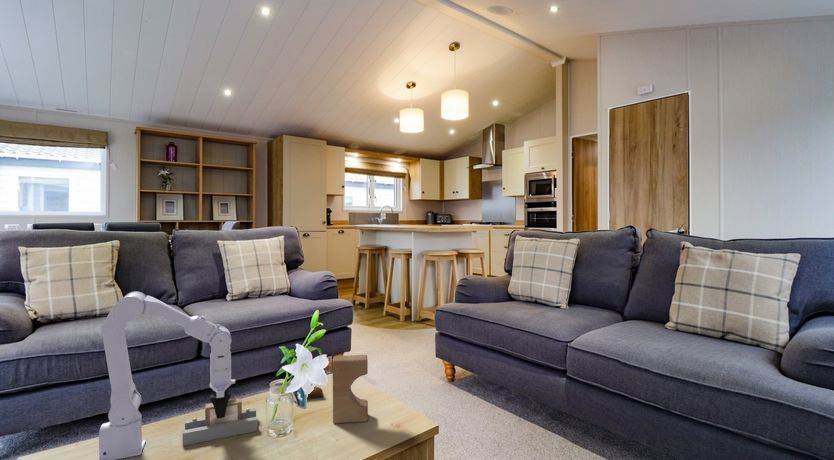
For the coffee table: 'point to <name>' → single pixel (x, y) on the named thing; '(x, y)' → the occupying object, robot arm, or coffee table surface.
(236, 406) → the walnut frame
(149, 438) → the coffee table surface
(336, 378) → the decorative block
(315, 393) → the sunglasses case
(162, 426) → the coffee table surface
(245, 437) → the coffee table surface
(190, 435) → the picture ledge
